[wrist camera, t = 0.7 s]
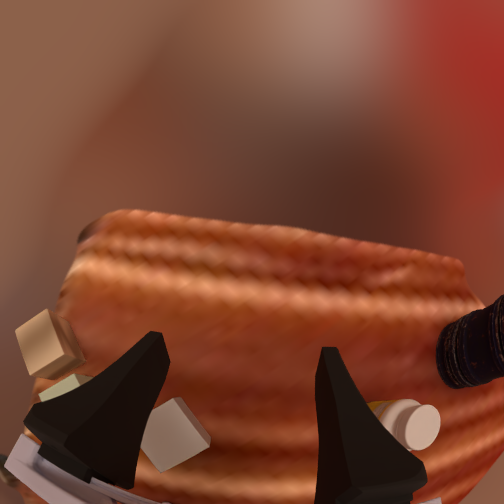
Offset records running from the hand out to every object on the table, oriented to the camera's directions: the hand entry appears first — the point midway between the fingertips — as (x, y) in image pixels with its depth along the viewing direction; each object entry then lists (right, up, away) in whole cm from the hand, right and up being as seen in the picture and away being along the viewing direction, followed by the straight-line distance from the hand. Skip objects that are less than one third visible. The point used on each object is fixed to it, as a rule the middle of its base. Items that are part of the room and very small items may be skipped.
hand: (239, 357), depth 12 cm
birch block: (-20, -6, +12) cm, 24 cm away
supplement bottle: (+13, -14, +12) cm, 23 cm away
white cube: (-7, -12, +10) cm, 18 cm away
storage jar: (+29, -10, +17) cm, 34 cm away
